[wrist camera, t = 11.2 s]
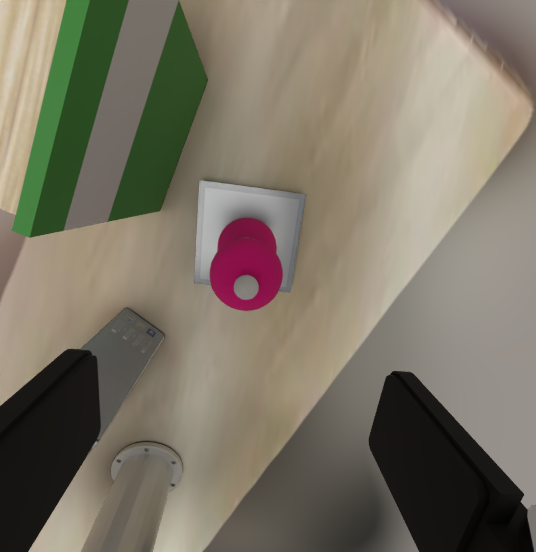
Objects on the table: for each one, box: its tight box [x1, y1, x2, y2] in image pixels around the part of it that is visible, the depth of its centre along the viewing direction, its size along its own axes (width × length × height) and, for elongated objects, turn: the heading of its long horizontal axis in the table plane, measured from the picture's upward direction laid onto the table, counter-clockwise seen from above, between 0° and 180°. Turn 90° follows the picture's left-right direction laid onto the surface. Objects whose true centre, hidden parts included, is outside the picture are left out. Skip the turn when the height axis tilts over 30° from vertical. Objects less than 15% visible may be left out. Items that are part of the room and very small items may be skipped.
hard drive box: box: [80, 308, 165, 454], centre depth 35 cm, size 16×8×20 cm, turn 136°
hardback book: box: [0, 0, 208, 238], centre depth 24 cm, size 18×7×24 cm, turn 154°
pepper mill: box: [210, 218, 283, 311], centre depth 28 cm, size 7×7×20 cm
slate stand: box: [194, 180, 306, 292], centre depth 39 cm, size 14×14×3 cm
